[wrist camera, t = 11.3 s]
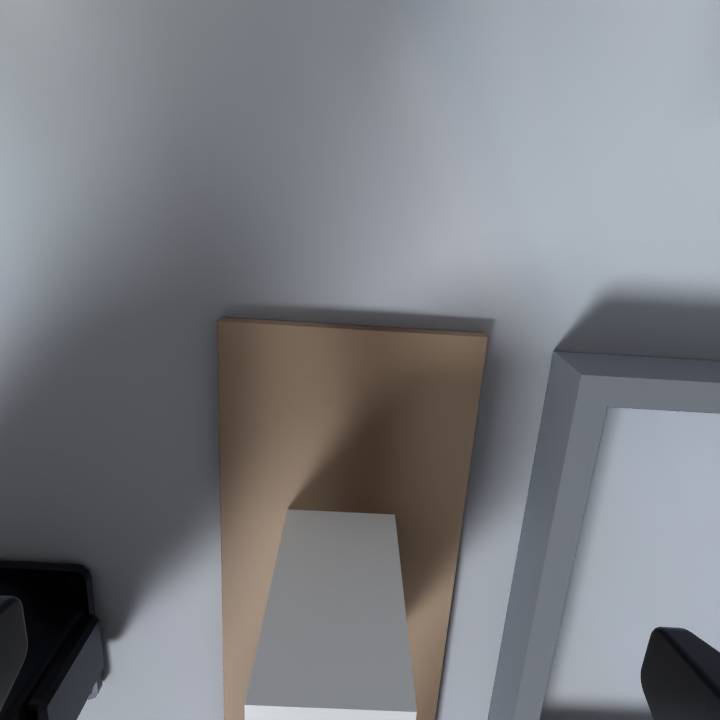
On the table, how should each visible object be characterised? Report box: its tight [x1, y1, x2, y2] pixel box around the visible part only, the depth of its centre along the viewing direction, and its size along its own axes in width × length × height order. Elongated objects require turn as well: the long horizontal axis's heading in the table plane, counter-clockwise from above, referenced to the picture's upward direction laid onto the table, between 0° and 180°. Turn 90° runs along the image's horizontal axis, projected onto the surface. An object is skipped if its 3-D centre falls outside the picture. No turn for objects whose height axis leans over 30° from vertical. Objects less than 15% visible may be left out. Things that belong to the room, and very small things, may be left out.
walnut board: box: [217, 317, 488, 720], centre depth 22 cm, size 9×20×1 cm, turn 176°
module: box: [245, 509, 417, 720], centre depth 17 cm, size 4×6×8 cm
